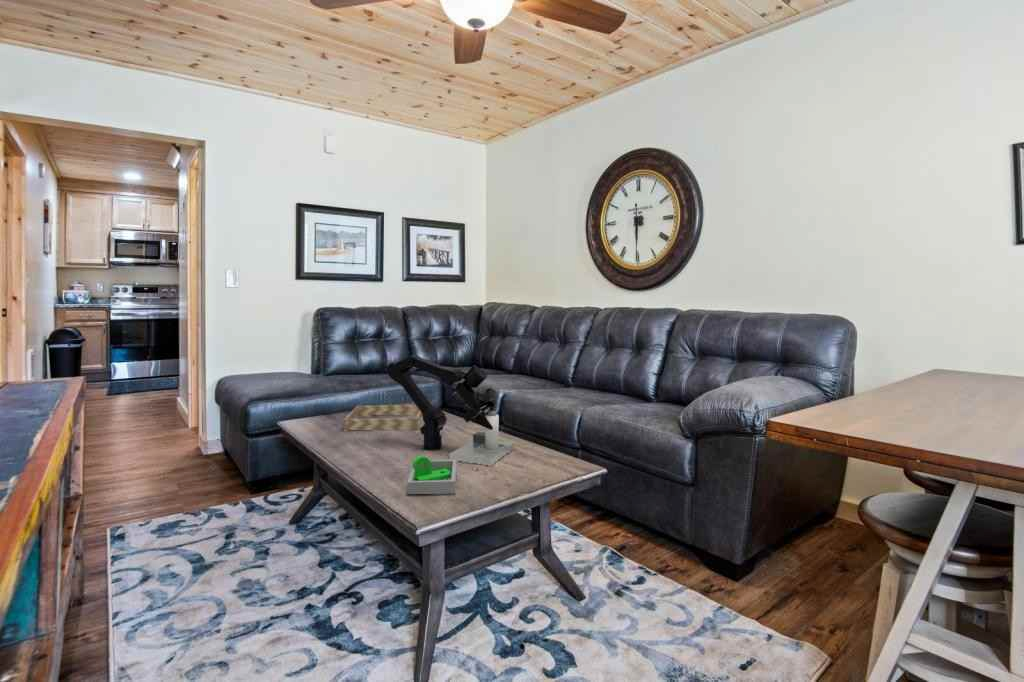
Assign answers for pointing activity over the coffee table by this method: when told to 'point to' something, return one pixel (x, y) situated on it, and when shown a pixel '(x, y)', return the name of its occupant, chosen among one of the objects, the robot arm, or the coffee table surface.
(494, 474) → the coffee table surface
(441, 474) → the mechanical part
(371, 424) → the woven basket tray
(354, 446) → the coffee table surface
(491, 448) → the cream bottle
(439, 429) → the robot arm
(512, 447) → the plate
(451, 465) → the parts tray
